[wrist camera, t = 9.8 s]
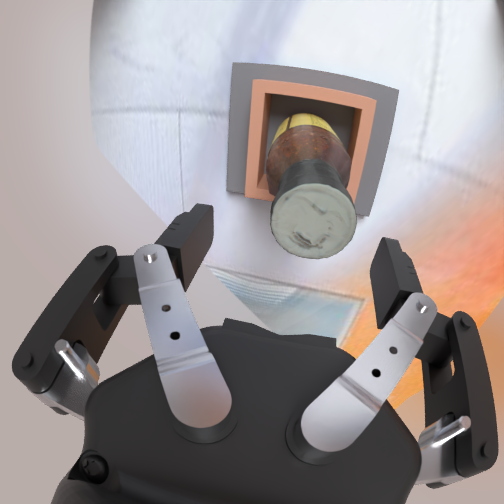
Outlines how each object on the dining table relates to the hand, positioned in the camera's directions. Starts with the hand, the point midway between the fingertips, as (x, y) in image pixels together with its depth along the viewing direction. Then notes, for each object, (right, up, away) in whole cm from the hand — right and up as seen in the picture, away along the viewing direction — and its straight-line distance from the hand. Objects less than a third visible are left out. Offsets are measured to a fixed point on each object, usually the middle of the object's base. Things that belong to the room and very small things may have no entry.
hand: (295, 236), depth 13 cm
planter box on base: (+5, +12, +17) cm, 21 cm away
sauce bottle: (+4, +12, +16) cm, 20 cm away
